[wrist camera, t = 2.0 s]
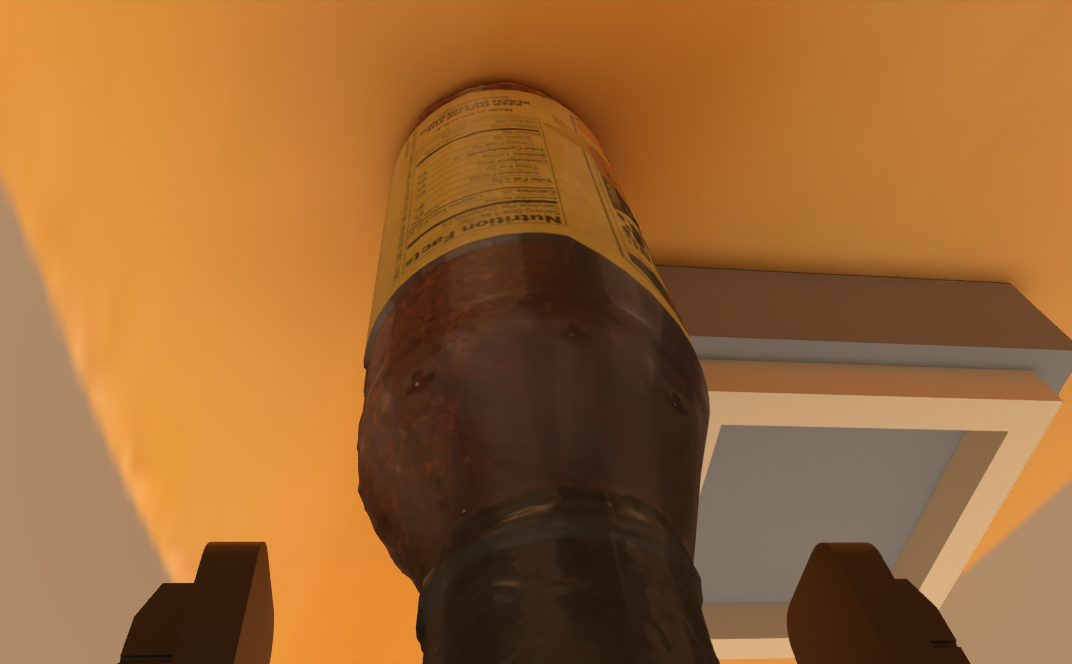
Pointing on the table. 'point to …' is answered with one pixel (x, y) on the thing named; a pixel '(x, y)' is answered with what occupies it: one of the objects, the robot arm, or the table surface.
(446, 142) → the sauce bottle
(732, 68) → the table surface
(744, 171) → the table surface
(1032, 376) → the tray
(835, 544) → the robot arm
